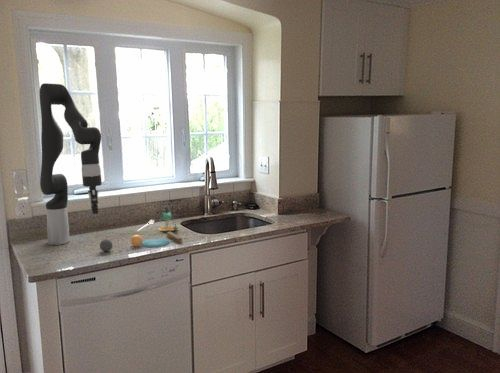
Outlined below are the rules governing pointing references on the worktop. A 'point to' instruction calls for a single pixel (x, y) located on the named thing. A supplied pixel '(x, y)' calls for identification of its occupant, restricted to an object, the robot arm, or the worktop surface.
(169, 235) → the wall
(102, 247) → the dark grey ball
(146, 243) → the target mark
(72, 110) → the robot arm
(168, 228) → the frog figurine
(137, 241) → the object ball
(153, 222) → the fork
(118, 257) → the worktop surface
